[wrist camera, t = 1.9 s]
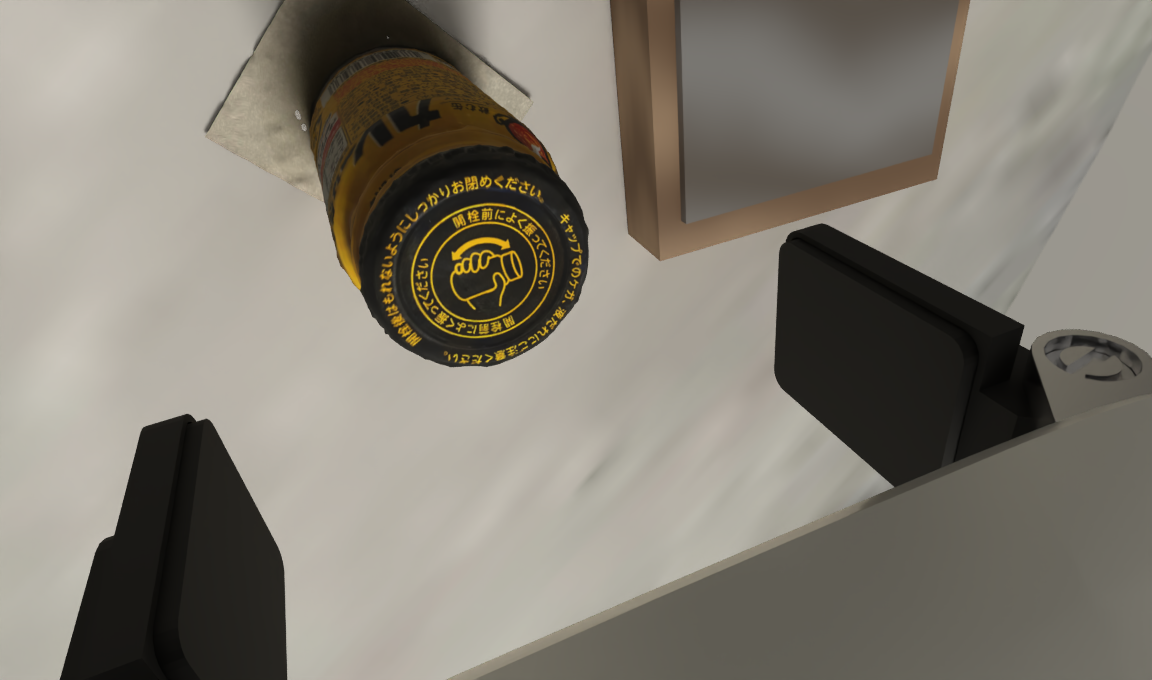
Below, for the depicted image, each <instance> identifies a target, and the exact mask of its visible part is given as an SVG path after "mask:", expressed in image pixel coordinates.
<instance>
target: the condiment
mask: <svg viewBox="0 0 1152 680" xmlns="http://www.w3.org/2000/svg"><path fill="white" fill-rule="evenodd" d="M387 36H388V37H390V38H389V40H388V39H387ZM532 104H533V101H532V100H530V99H529V98H528V97H527V96H525V95H524V94H523V93H521V92H520V91H519V90H518V89H516V88H515V87H514V86H513V85H511V84H510V83H509V82H508V81H506V80H505V79H504V78H503V77H501V76H500V75H499V74H497V73H496V72H495V71H494V70H492V69H491V68H490V67H489V66H487V65H486V64H485V63H484V62H482V61H481V60H480V59H479V58H477V57H476V56H475V55H473V54H472V53H471V52H470V51H469V50H467V49H466V48H465V47H463V46H462V45H461V44H460V43H458V42H457V41H456V40H455V39H453V38H452V37H451V36H450V35H448V34H447V33H446V32H445V31H443V30H442V29H441V28H440V27H438V25H436V24H435V23H433V22H432V21H431V20H430V19H428V18H427V17H426V16H425V15H423V14H422V13H421V12H420V11H418V10H417V9H415V8H414V7H413V6H412V5H411V4H409V3H408V2H407V1H406V0H284V2H283V3H282V5H281V6H280V8H279V9H278V11H277V13H276V15H275V17H274V19H273V21H272V22H271V24H270V25H269V27H268V29H267V31H266V32H265V34H264V36H263V38H262V39H261V41H260V43H259V44H258V46H257V48H256V50H255V51H254V54H253V55H252V56H251V57H250V59H249V61H248V63H247V65H246V67H245V69H244V70H243V72H242V74H241V76H240V78H239V79H238V81H237V83H236V84H235V86H234V88H233V89H232V91H231V93H230V94H229V96H228V98H227V100H226V101H225V103H224V105H223V107H222V108H221V110H220V112H219V114H218V115H217V117H216V119H215V121H214V122H213V124H212V126H211V127H210V129H209V131H208V133H207V134H206V136H205V137H206V138H208V139H210V140H212V141H213V142H215V143H217V144H219V145H221V146H222V147H224V148H226V149H227V150H229V151H231V152H233V153H235V154H237V155H238V156H240V157H242V158H244V159H246V160H248V161H250V162H252V163H253V164H255V165H257V166H258V167H260V168H262V169H263V170H265V171H267V172H269V173H271V174H273V175H275V176H277V177H279V178H281V179H282V180H284V181H286V182H288V183H289V184H291V185H292V186H294V187H296V188H298V189H300V190H302V191H304V192H306V193H308V194H309V195H311V196H313V197H315V198H317V199H319V200H321V201H323V202H325V205H326V212H327V215H328V218H329V223H330V226H331V231H332V236H333V240H334V242H335V247H336V251H337V258H338V260H339V263H340V266H341V267H342V268H343V269H344V270H345V271H346V273H347V274H348V276H349V277H350V279H351V280H352V283H353V284H354V285H355V286H356V287H357V288H358V289H359V290H360V291H361V293H362V295H363V297H364V299H365V302H366V303H367V305H368V308H369V310H370V312H371V315H372V317H373V318H375V319H376V320H377V321H378V323H379V325H380V326H381V327H383V328H384V330H385V334H388V335H389V336H390V338H391V339H393V340H394V341H395V342H396V343H398V344H399V345H400V346H402V347H404V348H405V349H407V350H409V351H411V352H413V353H415V354H417V355H419V356H421V357H422V358H424V359H427V360H431V361H434V362H436V363H438V364H442V365H446V366H449V367H462V366H484V367H488V366H493V365H497V364H500V363H503V362H505V361H508V360H510V359H513V358H515V357H517V356H519V355H521V354H523V353H525V352H527V351H528V350H530V349H532V348H533V347H535V346H537V345H538V344H540V343H541V342H542V341H544V340H545V339H546V338H547V337H548V336H549V335H550V334H551V333H552V332H553V331H554V330H555V329H556V328H557V326H558V325H559V324H560V322H561V321H562V320H563V319H564V318H565V317H566V315H567V314H568V313H569V312H570V311H571V309H572V308H573V307H574V304H576V303H577V302H578V300H579V296H580V294H581V289H582V286H583V283H584V281H585V278H586V275H587V268H588V253H589V250H588V234H589V232H588V227H587V225H586V223H585V221H584V217H583V212H582V209H581V207H580V205H579V203H578V201H577V199H576V197H575V196H574V194H573V193H572V192H571V190H570V189H569V188H568V186H567V185H566V183H565V182H564V181H563V180H561V179H560V177H559V175H558V172H557V169H556V166H555V164H554V162H553V161H552V158H551V155H550V153H549V152H548V151H547V150H546V148H545V147H544V145H543V144H542V143H541V142H540V141H539V140H538V139H537V138H536V136H535V135H534V134H533V133H532V131H531V130H530V129H529V128H527V127H526V126H525V125H524V124H523V123H521V120H522V119H523V117H524V116H525V114H526V113H527V111H528V110H529V108H530V107H531V105H532ZM296 110H298V111H299V112H300V114H301V120H298V119H297V118H296V116H295V111H296ZM303 123H304V124H306V127H307V130H306V131H305V132H304V131H303V130H302V127H301V125H302V124H303Z"/></svg>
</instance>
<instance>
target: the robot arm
mask: <svg viewBox="0 0 1152 680" xmlns="http://www.w3.org/2000/svg"><path fill="white" fill-rule="evenodd" d="M1023 329H1024V325H1023V324H1021V323H1019V322H1017V321H1015V320H1013V319H1011V318H1009V317H1007V316H1005V315H1003V314H1001V313H999V312H997V311H995V310H993V309H991V308H989V307H987V306H985V305H983V304H982V303H980V302H978V301H976V300H974V299H972V298H970V297H968V296H966V295H964V294H962V293H960V292H958V291H956V290H954V289H952V288H950V287H948V286H946V285H944V284H942V283H940V282H938V281H936V280H934V279H932V278H931V277H929V276H927V275H925V274H923V273H921V272H919V271H917V270H915V269H913V268H911V267H909V266H907V265H905V264H903V263H901V262H899V261H897V260H895V259H893V258H891V257H889V256H887V255H885V254H883V253H881V252H879V251H878V250H876V249H874V248H872V247H870V246H868V245H866V244H864V243H862V242H860V241H858V240H856V239H854V238H852V237H850V236H848V235H846V234H844V233H842V232H840V231H838V230H836V229H834V228H832V227H830V226H828V225H826V224H817V225H814V226H810V227H807V228H804V229H800V230H797V231H794V232H791V233H790V234H789V235H788V237H787V239H786V243H784V244H782V246H781V248H780V251H779V269H778V293H777V317H776V340H775V364H774V371H775V376H776V379H777V382H778V384H779V385H780V387H781V388H782V389H783V390H784V391H785V392H786V393H787V394H789V395H790V396H791V397H792V398H793V399H794V400H795V401H797V402H798V403H799V404H800V405H801V406H802V407H804V408H805V409H806V410H807V411H808V412H809V413H810V414H812V415H813V416H814V417H815V418H816V419H817V420H818V421H820V422H821V423H822V424H823V425H824V426H825V427H826V428H828V429H829V430H830V431H831V432H832V433H833V434H834V435H836V436H837V437H838V438H839V439H840V440H841V441H842V442H844V443H845V444H846V445H847V446H848V447H849V448H851V449H852V450H853V451H854V452H855V453H856V454H857V455H859V456H860V457H861V458H862V459H863V460H864V461H865V462H867V463H868V464H869V465H870V466H871V467H872V468H873V469H875V470H876V471H877V472H878V473H879V474H880V475H881V476H883V477H884V478H885V479H886V480H887V481H888V482H889V483H891V484H892V485H893V486H894V487H895V488H892V489H890V490H887V491H885V492H883V493H880V494H878V495H876V496H873V497H871V498H868V499H866V500H864V501H861V502H859V503H856V504H854V505H852V506H849V507H847V508H844V509H842V510H840V511H837V512H835V513H833V514H830V515H828V516H825V517H823V518H821V519H818V520H816V521H814V522H811V523H809V524H807V525H804V526H802V527H800V528H797V529H795V530H793V531H790V532H788V533H785V534H783V535H781V536H778V537H776V538H774V539H771V540H769V541H767V542H764V543H762V544H760V545H757V546H755V547H752V548H750V549H748V550H745V551H743V552H741V553H738V554H736V555H734V556H731V557H729V558H727V559H724V560H722V561H720V562H717V563H715V564H713V565H710V566H708V567H706V568H703V569H701V570H699V571H696V572H694V573H692V574H689V575H687V576H684V577H682V578H680V579H677V580H675V581H673V582H670V583H668V584H666V585H663V586H661V587H659V588H656V589H654V590H652V591H649V592H647V593H645V594H642V595H640V596H638V597H635V598H633V599H631V600H628V601H626V602H624V603H622V604H619V605H617V606H615V607H612V608H610V609H608V610H605V611H603V612H601V613H598V614H596V615H594V616H591V617H589V618H587V619H585V620H582V621H580V622H578V623H575V624H573V625H571V626H568V627H566V628H564V629H561V630H559V631H557V632H554V633H552V634H550V635H547V636H545V637H543V638H541V639H538V640H536V641H534V642H531V643H529V644H527V645H524V646H522V647H520V648H517V649H515V650H513V651H510V652H508V653H506V654H504V655H501V656H499V657H497V658H494V659H492V660H490V661H487V662H485V663H483V664H480V665H478V666H476V667H473V668H471V669H469V670H467V671H464V672H462V673H460V674H457V675H455V676H453V677H451V678H449V679H446V680H1152V358H1151V357H1150V356H1149V354H1148V353H1147V352H1145V351H1144V350H1142V349H1140V348H1139V347H1138V346H1136V345H1134V344H1133V343H1130V342H1128V341H1126V340H1123V339H1121V338H1118V337H1115V336H1112V335H1107V334H1104V333H1100V332H1095V331H1087V330H1080V329H1078V330H1077V329H1070V330H1057V331H1052V332H1047V333H1045V334H1043V335H1041V336H1039V337H1037V338H1036V340H1035V341H1034V342H1033V344H1032V345H1031V349H1030V350H1028V349H1026V348H1024V347H1022V346H1021V345H1019V344H1020V340H1021V337H1022V333H1023ZM60 680H287V654H286V618H285V582H284V566H283V561H282V557H281V554H280V551H279V549H278V546H277V544H276V542H275V541H274V539H273V537H272V535H271V533H270V531H269V529H268V527H267V525H266V524H265V522H264V520H263V518H262V516H261V514H260V512H259V510H258V508H257V507H256V505H255V503H254V501H253V499H252V497H251V495H250V493H249V491H248V490H247V488H246V486H245V484H244V482H243V480H242V478H241V476H240V474H239V473H238V471H237V469H236V467H235V465H234V463H233V461H232V459H231V457H230V456H229V454H228V452H227V450H226V448H225V446H224V444H223V442H222V440H221V439H220V437H219V435H218V433H217V431H216V429H215V427H214V426H213V424H212V422H211V421H210V420H208V419H204V420H201V421H197V422H196V420H195V419H194V418H193V417H192V416H191V415H189V414H185V415H182V416H178V417H175V418H172V419H168V420H165V421H162V422H158V423H155V424H152V425H148V426H145V427H143V429H142V431H141V433H140V437H139V441H138V445H137V449H136V453H135V457H134V460H133V464H132V468H131V472H130V476H129V480H128V484H127V488H126V492H125V496H124V500H123V504H122V507H121V511H120V515H119V519H118V523H117V527H116V531H115V535H114V536H111V537H108V538H106V539H104V540H103V541H102V542H101V543H100V544H99V546H98V548H97V550H96V552H95V556H94V559H93V563H92V566H91V570H90V574H89V577H88V581H87V584H86V588H85V591H84V595H83V599H82V602H81V606H80V609H79V613H78V617H77V620H76V624H75V627H74V631H73V634H72V638H71V642H70V645H69V649H68V652H67V656H66V659H65V663H64V667H63V670H62V674H61V677H60Z"/></svg>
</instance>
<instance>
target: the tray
mask: <svg viewBox="0 0 1152 680" xmlns="http://www.w3.org/2000/svg"><path fill="white" fill-rule="evenodd" d="M610 4H611V17H612V30H613V42H614V55H615V68H616V81H617V94H618V106H619V119H620V132H621V145H622V158H623V170H624V183H625V196H626V209H627V221H628V234H629V235H630V236H631V237H633V238H634V239H635V240H636V241H637V242H638V243H640V244H641V245H642V246H643V247H644V248H645V249H647V250H648V251H649V252H650V253H651V254H652V255H654V256H655V257H656V258H657V259H658V260H659V261H662V260H666V259H669V258H672V257H676V256H679V255H683V254H686V253H689V252H693V251H696V250H699V249H703V248H706V247H709V246H713V245H716V244H720V243H723V242H726V241H730V240H733V239H736V238H740V237H743V236H746V235H750V234H753V233H757V232H760V231H763V230H767V229H770V228H773V227H777V226H780V225H784V224H787V223H790V222H794V221H797V220H800V219H804V218H807V217H810V216H814V215H817V214H821V213H824V212H827V211H831V210H834V209H837V208H841V207H844V206H848V205H851V204H854V203H858V202H861V201H864V200H868V199H871V198H874V197H878V196H881V195H885V194H888V193H891V192H895V191H898V190H901V189H905V188H908V187H912V186H915V185H918V184H922V183H925V182H928V181H932V180H935V179H937V175H938V170H939V164H940V159H941V154H942V148H943V143H944V138H945V132H946V127H947V122H948V116H949V111H950V106H951V100H952V95H953V90H954V84H955V79H956V74H957V68H958V63H959V58H960V52H961V47H962V41H963V36H964V31H965V25H966V20H967V15H968V9H969V4H970V0H610Z"/></svg>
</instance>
